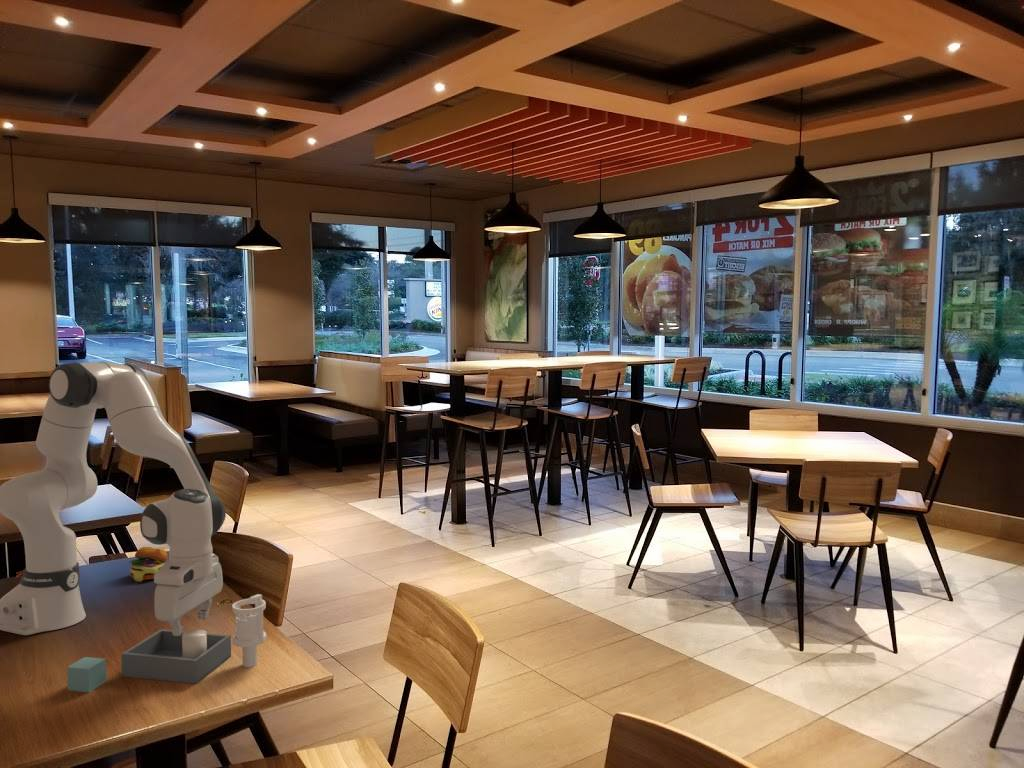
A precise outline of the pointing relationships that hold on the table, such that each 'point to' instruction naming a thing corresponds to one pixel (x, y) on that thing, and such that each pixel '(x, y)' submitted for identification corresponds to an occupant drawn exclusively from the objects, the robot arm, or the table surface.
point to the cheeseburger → (147, 563)
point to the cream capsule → (194, 643)
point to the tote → (174, 658)
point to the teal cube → (86, 674)
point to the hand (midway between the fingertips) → (191, 626)
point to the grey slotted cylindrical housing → (249, 628)
